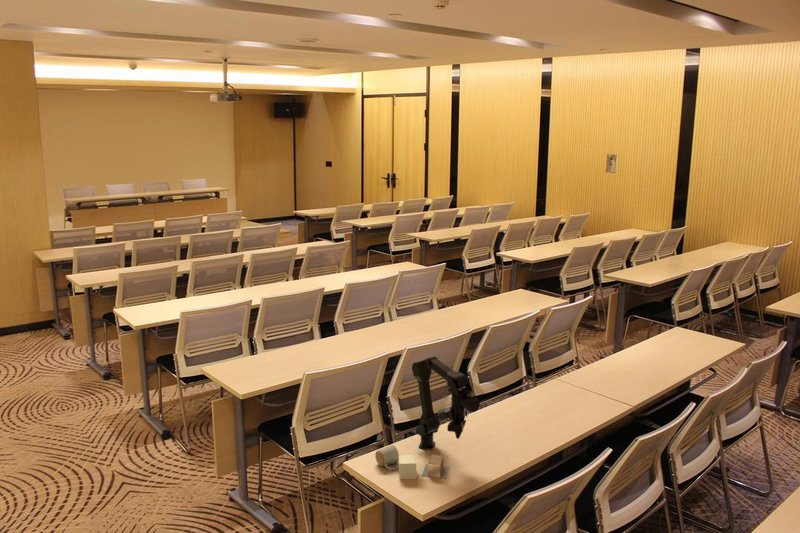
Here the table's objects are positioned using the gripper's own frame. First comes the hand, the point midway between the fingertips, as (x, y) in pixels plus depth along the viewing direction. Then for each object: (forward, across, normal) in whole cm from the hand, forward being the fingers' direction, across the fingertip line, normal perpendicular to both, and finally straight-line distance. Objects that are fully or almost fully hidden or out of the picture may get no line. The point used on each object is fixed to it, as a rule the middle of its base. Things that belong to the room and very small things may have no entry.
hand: (457, 438), depth 290 cm
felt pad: (+12, +8, -8) cm, 16 cm away
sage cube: (+12, +13, -19) cm, 26 cm away
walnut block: (+9, +12, -8) cm, 18 cm away
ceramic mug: (+12, +7, -28) cm, 32 cm away
